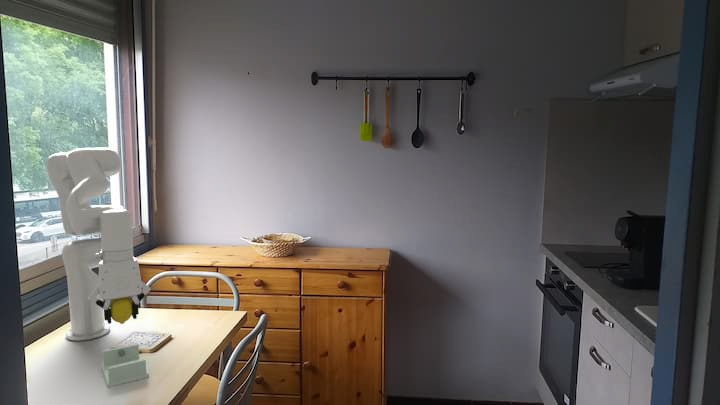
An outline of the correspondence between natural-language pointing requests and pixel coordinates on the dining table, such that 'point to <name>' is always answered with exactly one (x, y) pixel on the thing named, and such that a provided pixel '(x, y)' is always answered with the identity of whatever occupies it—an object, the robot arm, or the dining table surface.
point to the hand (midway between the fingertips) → (121, 319)
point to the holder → (123, 365)
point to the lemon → (121, 310)
